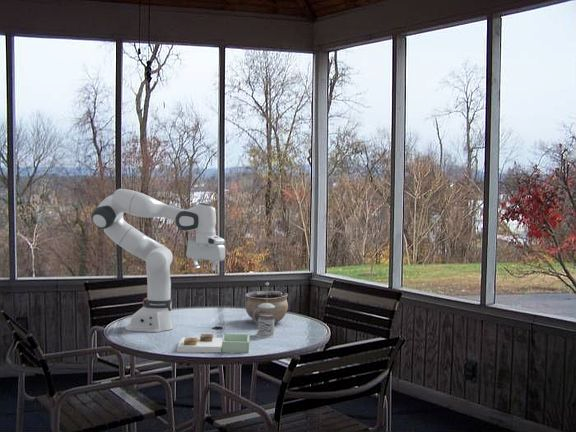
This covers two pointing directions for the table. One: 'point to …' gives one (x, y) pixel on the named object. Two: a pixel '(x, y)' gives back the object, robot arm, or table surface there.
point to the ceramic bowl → (267, 297)
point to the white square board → (201, 345)
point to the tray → (236, 343)
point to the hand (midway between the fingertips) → (204, 269)
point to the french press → (265, 321)
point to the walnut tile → (206, 337)
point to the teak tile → (190, 341)
